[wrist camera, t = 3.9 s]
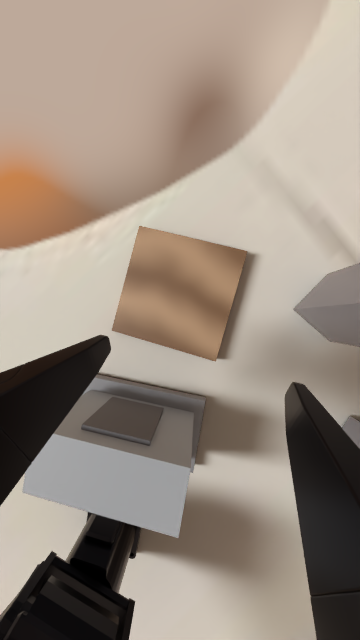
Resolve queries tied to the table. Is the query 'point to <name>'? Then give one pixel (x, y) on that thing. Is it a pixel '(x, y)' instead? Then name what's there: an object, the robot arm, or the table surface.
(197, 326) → the walnut pad
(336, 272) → the block
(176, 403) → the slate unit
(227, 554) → the table surface
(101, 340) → the robot arm
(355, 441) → the block
